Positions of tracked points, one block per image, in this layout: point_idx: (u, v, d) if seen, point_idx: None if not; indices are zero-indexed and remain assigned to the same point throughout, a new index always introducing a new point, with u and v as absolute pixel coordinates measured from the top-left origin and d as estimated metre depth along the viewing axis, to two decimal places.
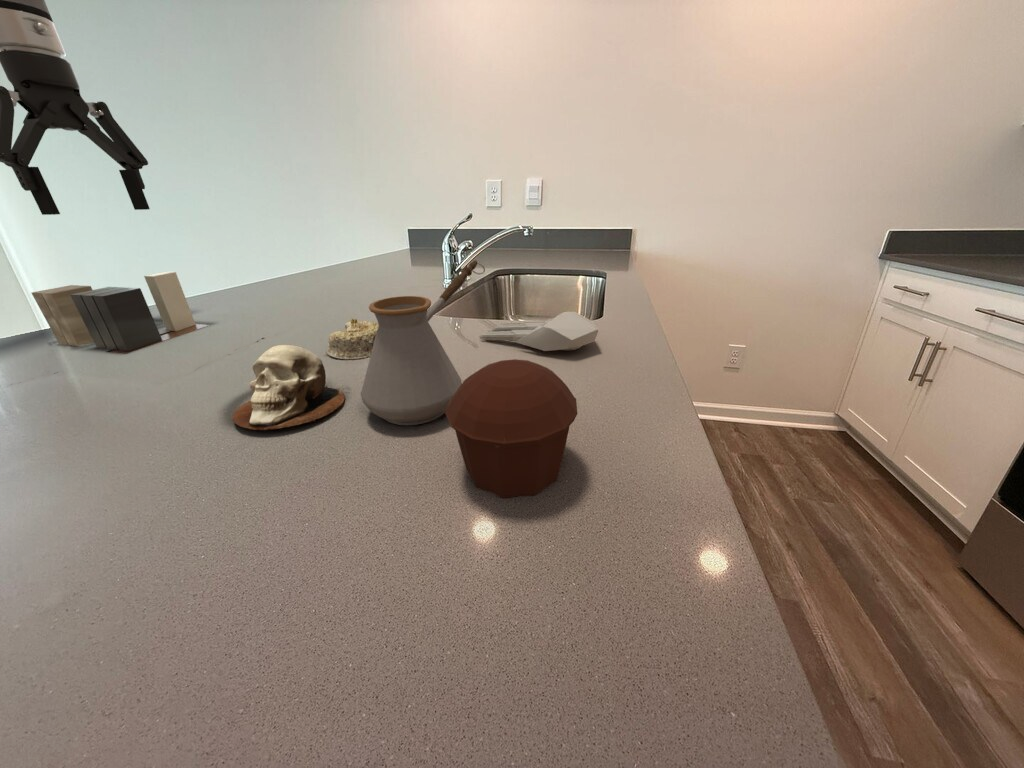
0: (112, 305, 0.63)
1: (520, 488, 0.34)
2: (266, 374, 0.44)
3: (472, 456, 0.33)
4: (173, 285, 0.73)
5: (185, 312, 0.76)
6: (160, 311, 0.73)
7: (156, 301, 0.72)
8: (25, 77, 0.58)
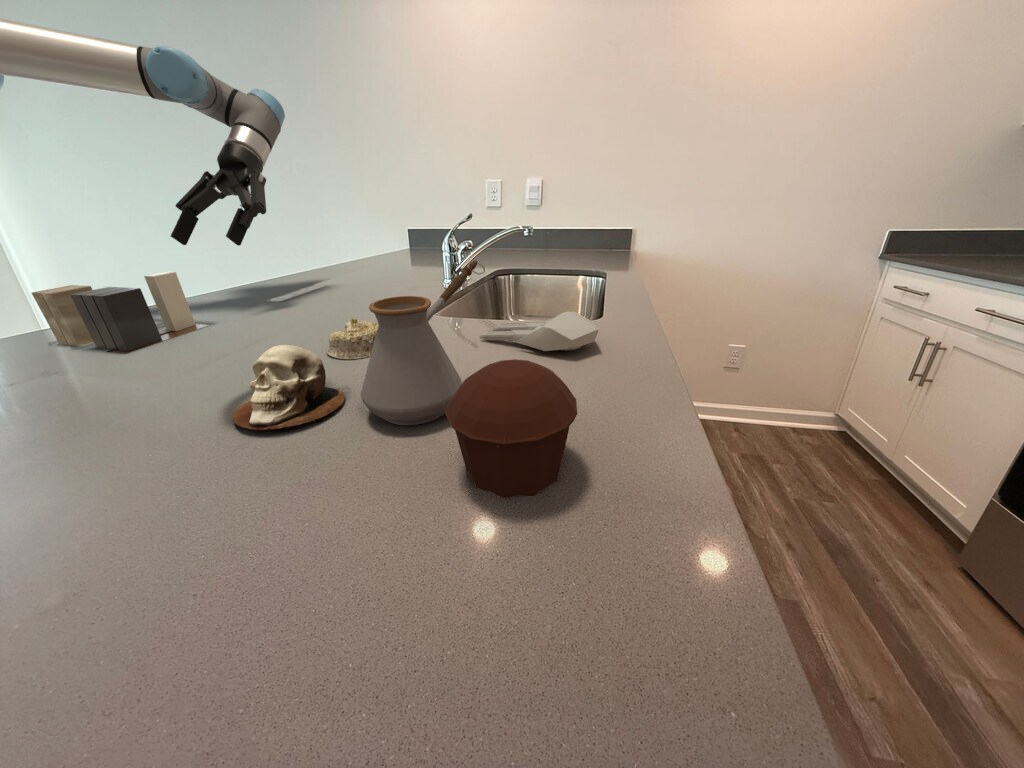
0: (112, 305, 0.63)
1: (520, 488, 0.34)
2: (266, 374, 0.44)
3: (472, 456, 0.33)
4: (173, 285, 0.73)
5: (185, 312, 0.76)
6: (160, 311, 0.73)
7: (156, 301, 0.72)
8: None
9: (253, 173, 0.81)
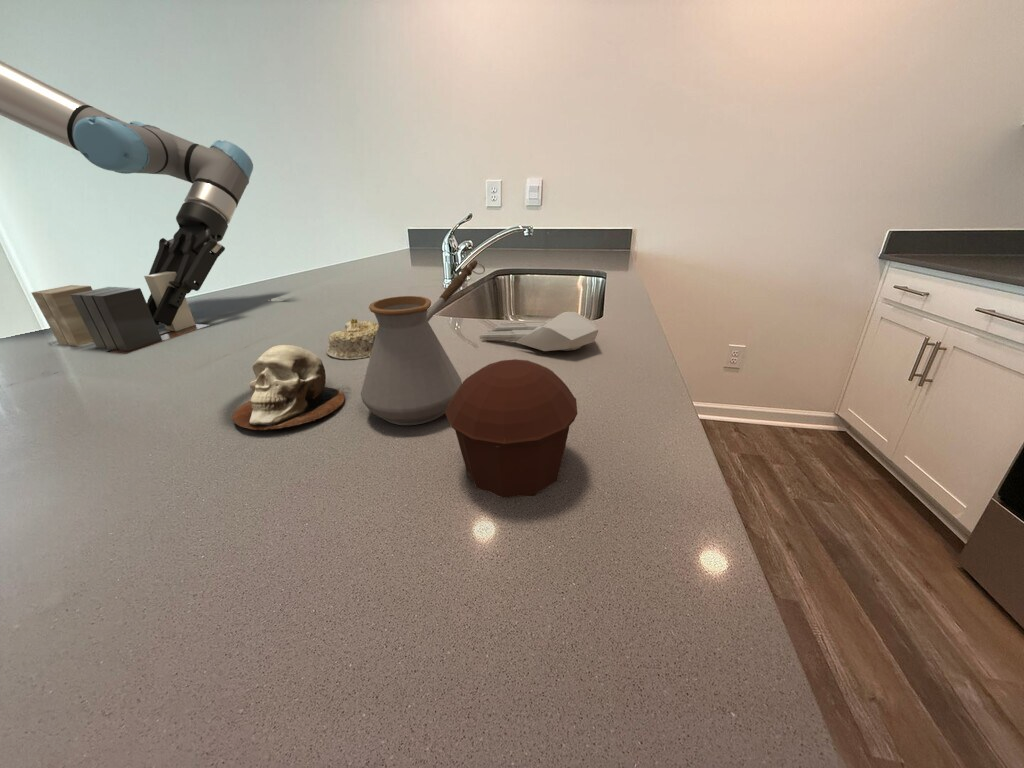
0: (112, 305, 0.63)
1: (520, 488, 0.34)
2: (266, 374, 0.44)
3: (472, 456, 0.33)
4: None
5: (185, 312, 0.76)
6: None
7: (156, 301, 0.72)
8: (220, 234, 0.79)
9: (208, 243, 0.74)
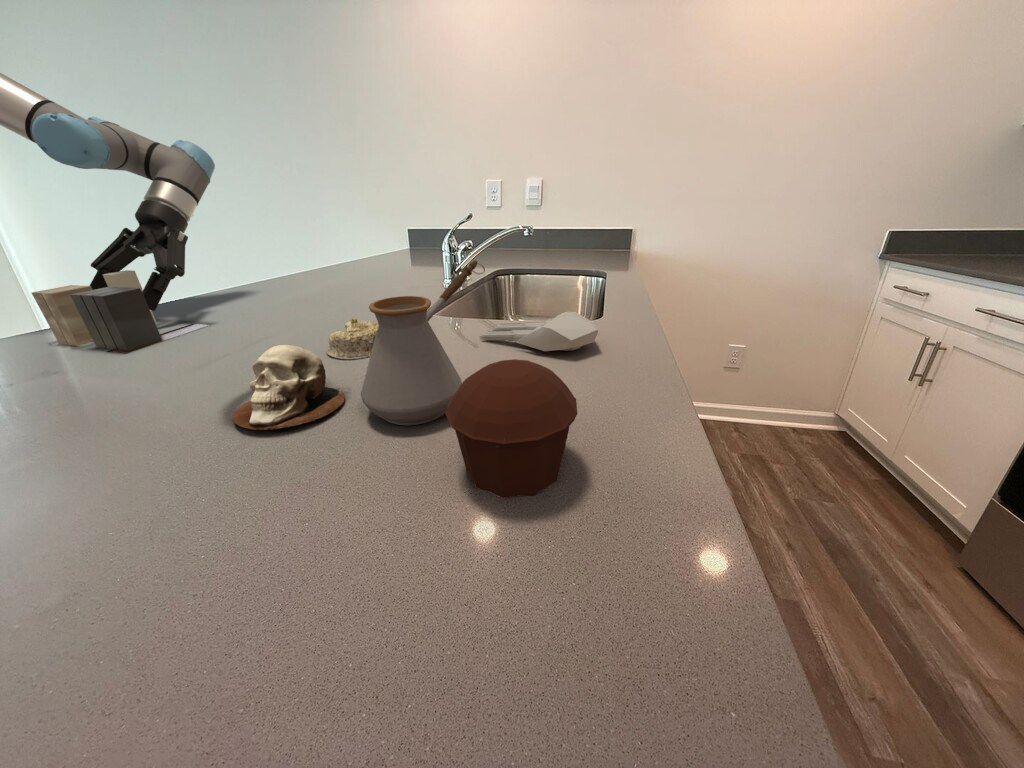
0: (112, 305, 0.63)
1: (520, 488, 0.34)
2: (266, 374, 0.44)
3: (472, 456, 0.33)
4: (132, 283, 0.76)
5: None
6: None
7: None
8: None
9: (172, 232, 0.77)
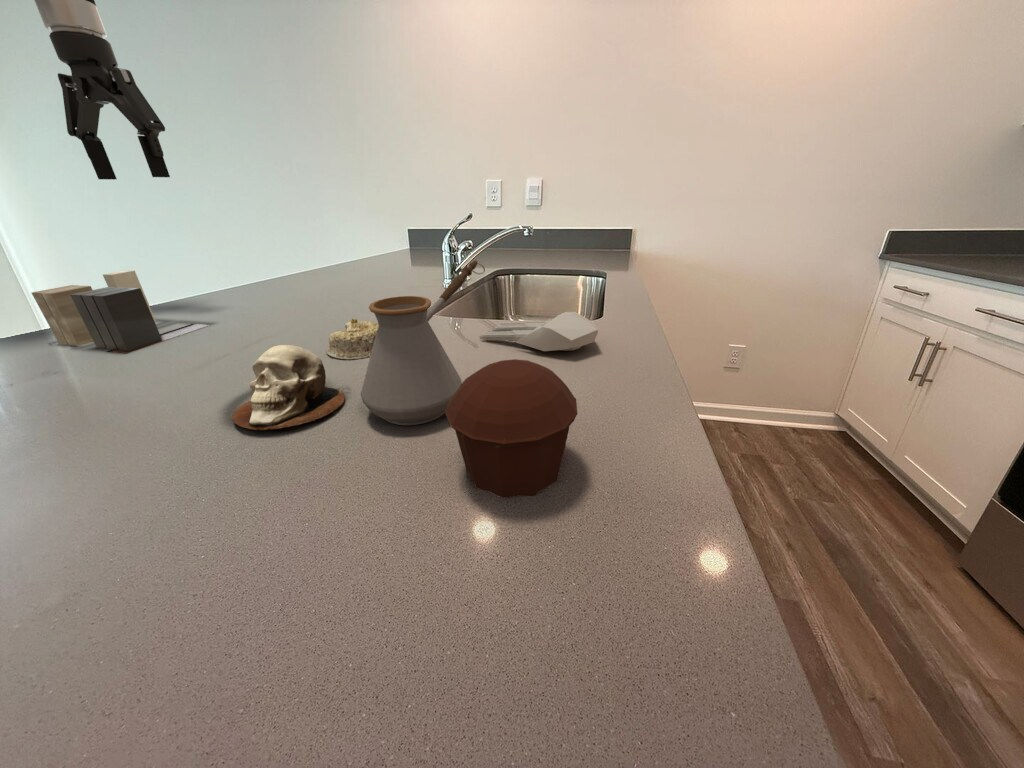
0: (112, 305, 0.63)
1: (520, 488, 0.34)
2: (266, 374, 0.44)
3: (472, 456, 0.33)
4: (132, 283, 0.76)
5: None
6: None
7: None
8: (113, 62, 0.70)
9: (114, 75, 0.68)
